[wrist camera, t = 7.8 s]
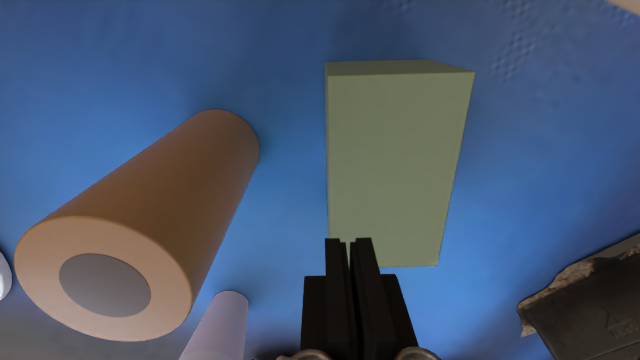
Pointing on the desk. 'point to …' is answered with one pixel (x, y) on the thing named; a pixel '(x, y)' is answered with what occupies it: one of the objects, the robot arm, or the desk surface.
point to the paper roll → (142, 233)
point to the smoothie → (220, 330)
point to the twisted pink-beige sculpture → (281, 358)
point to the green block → (393, 154)
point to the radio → (590, 307)
